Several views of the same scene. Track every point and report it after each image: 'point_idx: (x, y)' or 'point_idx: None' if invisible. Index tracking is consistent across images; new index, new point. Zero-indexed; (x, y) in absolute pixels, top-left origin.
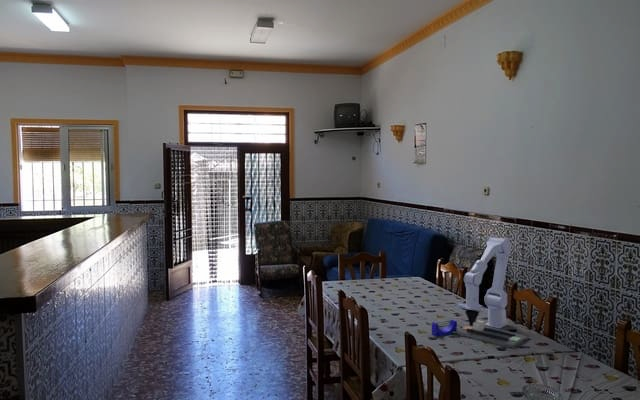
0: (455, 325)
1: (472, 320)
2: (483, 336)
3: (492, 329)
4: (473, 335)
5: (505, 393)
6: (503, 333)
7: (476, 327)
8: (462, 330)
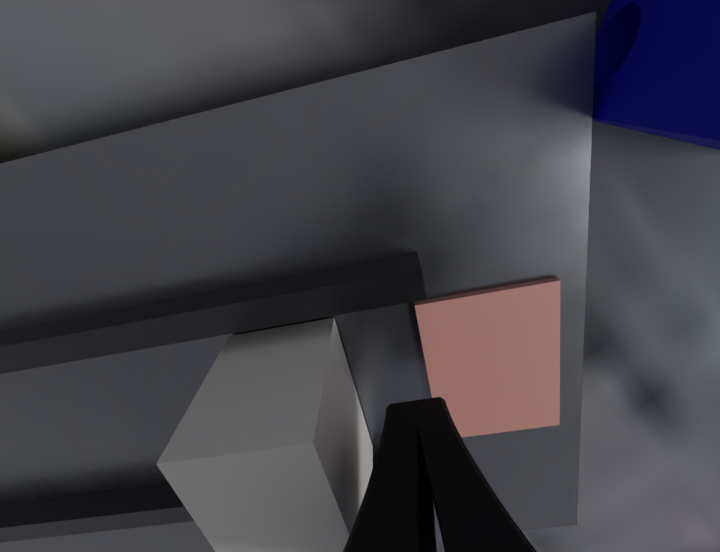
0: (700, 79)
1: (367, 511)
2: (24, 241)
3: (173, 511)
4: (134, 129)
5: None
6: (42, 505)
7: (248, 381)
8: (485, 198)
